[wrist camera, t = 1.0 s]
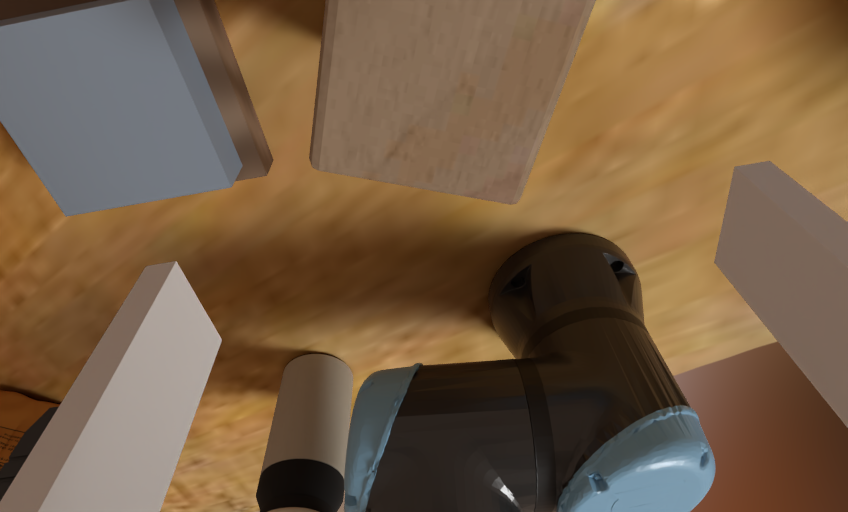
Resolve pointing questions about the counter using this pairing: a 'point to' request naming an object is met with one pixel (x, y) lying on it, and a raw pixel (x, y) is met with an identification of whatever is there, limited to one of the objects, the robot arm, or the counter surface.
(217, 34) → the walnut slab
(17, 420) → the coffee package
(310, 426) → the travel mug
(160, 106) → the slate slab
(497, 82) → the wooden block
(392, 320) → the counter surface
